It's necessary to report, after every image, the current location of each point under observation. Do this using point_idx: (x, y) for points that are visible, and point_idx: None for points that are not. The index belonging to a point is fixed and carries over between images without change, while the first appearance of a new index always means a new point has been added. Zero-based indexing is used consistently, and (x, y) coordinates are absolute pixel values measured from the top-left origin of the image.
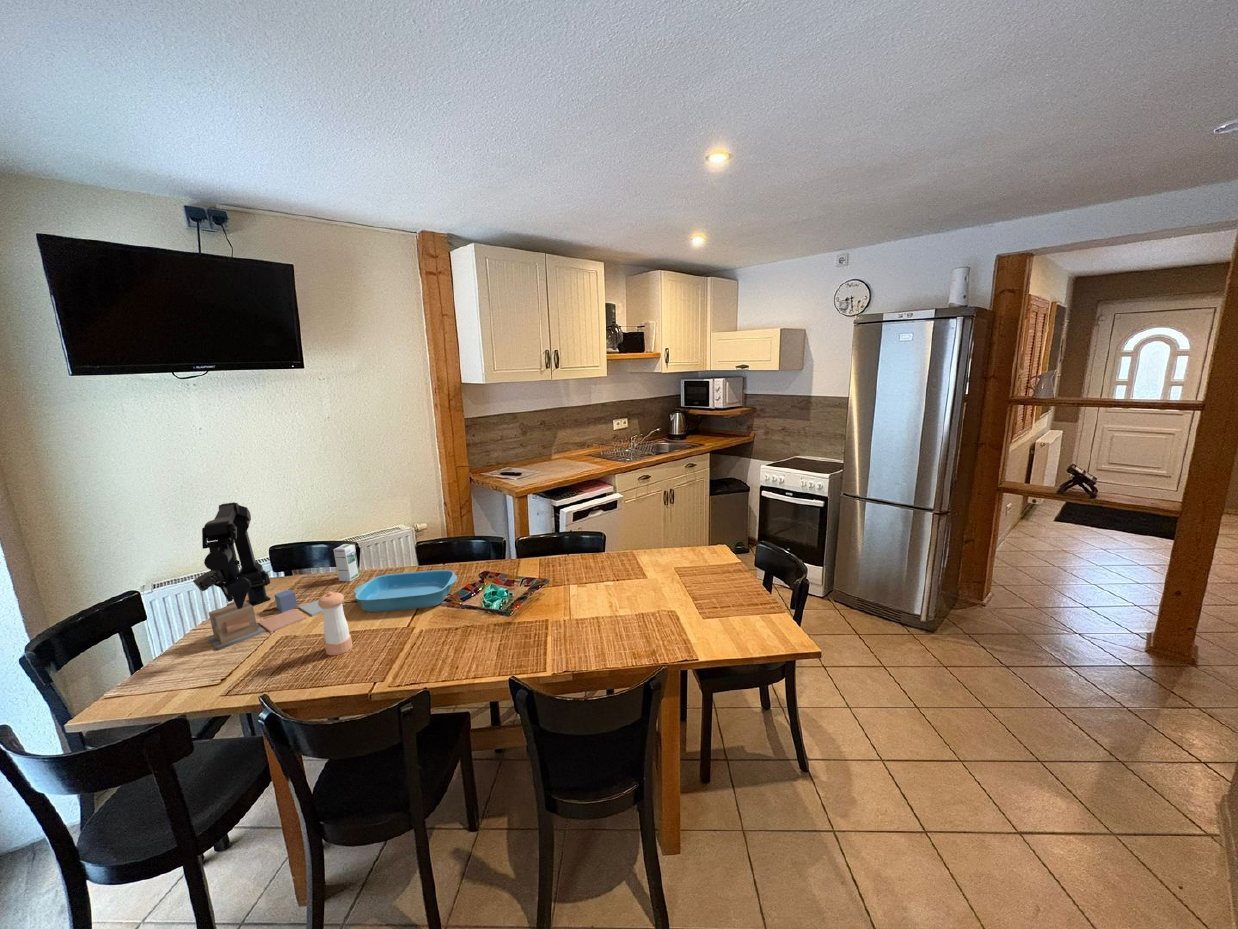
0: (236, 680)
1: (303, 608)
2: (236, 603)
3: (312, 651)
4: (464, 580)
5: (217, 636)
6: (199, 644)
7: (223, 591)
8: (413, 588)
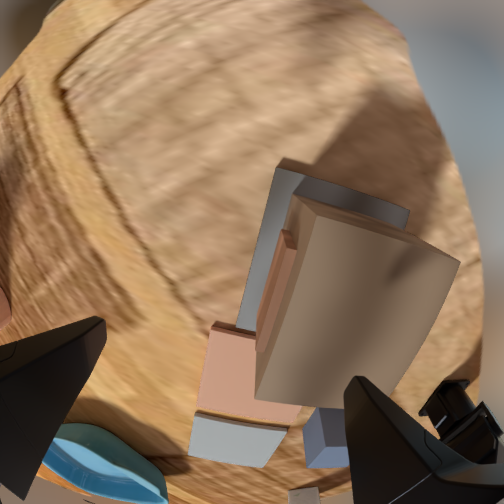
0: (33, 114)
1: (262, 430)
2: (43, 337)
3: (14, 278)
4: None
5: (343, 209)
6: (404, 177)
7: (408, 451)
8: (120, 475)
